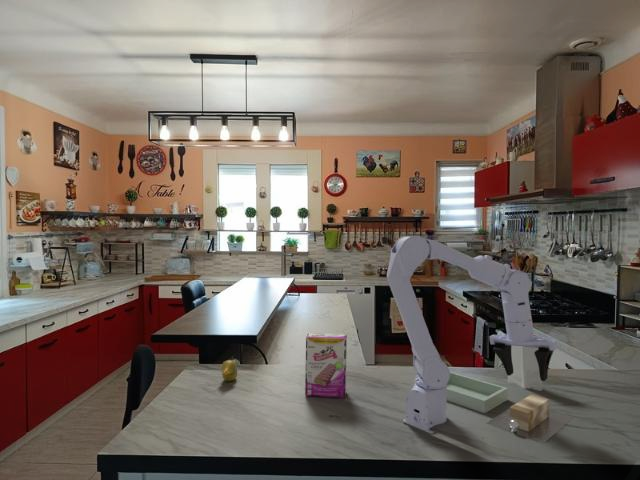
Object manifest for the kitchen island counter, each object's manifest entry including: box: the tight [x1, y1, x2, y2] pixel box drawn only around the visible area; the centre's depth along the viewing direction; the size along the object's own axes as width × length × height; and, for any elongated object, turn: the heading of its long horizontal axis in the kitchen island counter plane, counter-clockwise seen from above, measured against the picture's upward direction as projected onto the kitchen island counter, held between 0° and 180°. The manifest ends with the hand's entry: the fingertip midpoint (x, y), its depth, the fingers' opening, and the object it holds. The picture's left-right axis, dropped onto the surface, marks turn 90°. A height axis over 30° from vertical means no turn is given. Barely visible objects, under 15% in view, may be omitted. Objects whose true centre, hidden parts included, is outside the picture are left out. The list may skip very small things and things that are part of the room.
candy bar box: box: [304, 332, 348, 399], centre depth 109 cm, size 11×5×16 cm, turn 84°
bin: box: [447, 371, 509, 414], centre depth 107 cm, size 13×19×4 cm
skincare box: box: [507, 346, 544, 392], centre depth 116 cm, size 8×6×15 cm
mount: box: [485, 407, 573, 445], centre depth 92 cm, size 18×12×4 cm, turn 131°
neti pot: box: [220, 359, 238, 382], centre depth 120 cm, size 4×15×6 cm, turn 1°
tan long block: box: [509, 394, 550, 432], centre depth 92 cm, size 12×4×4 cm, turn 131°
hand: (526, 376), depth 93 cm, fingers open, 7 cm apart
